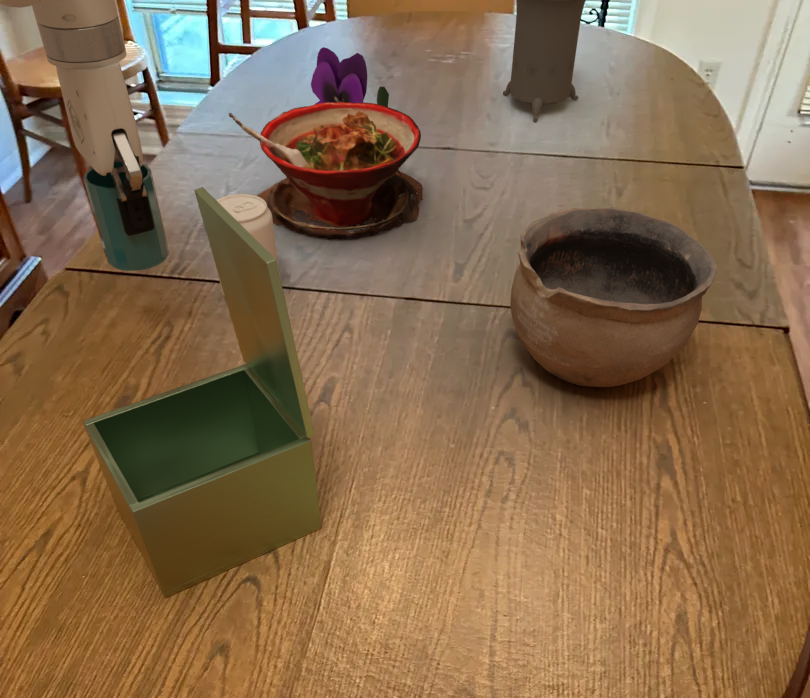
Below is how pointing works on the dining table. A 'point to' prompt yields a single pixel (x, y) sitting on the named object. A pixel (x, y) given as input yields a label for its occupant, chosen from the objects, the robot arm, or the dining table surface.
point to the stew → (341, 168)
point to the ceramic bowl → (607, 293)
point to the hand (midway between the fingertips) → (128, 216)
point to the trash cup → (116, 243)
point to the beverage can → (252, 219)
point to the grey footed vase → (544, 51)
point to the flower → (342, 79)
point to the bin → (207, 476)
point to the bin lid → (257, 308)
